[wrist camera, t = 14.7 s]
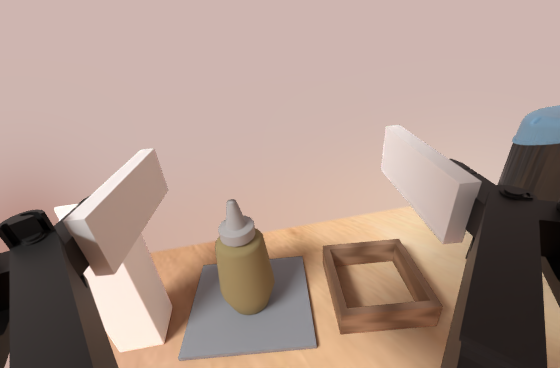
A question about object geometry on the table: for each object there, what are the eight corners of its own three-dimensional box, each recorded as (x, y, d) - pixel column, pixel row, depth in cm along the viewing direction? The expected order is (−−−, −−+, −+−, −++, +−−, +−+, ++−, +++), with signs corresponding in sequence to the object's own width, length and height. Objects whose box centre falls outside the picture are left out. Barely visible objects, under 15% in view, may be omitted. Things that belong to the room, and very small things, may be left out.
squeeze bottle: (231, 278, 45) (208, 186, 37) (278, 277, 45) (267, 184, 36) (219, 323, 38) (187, 223, 30) (275, 323, 38) (260, 220, 29)
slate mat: (302, 258, 49) (302, 256, 49) (316, 348, 35) (316, 345, 35) (204, 267, 49) (203, 265, 49) (179, 360, 35) (178, 358, 35)
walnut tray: (395, 256, 48) (398, 238, 46) (436, 325, 36) (442, 306, 34) (322, 262, 48) (322, 245, 46) (340, 334, 36) (341, 315, 34)
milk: (164, 344, 37) (99, 216, 26) (119, 353, 36) (33, 225, 26) (173, 306, 42) (122, 185, 31) (133, 313, 42) (67, 193, 31)
